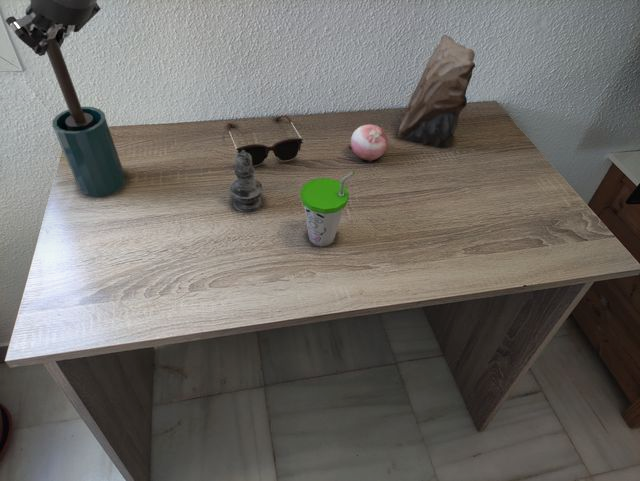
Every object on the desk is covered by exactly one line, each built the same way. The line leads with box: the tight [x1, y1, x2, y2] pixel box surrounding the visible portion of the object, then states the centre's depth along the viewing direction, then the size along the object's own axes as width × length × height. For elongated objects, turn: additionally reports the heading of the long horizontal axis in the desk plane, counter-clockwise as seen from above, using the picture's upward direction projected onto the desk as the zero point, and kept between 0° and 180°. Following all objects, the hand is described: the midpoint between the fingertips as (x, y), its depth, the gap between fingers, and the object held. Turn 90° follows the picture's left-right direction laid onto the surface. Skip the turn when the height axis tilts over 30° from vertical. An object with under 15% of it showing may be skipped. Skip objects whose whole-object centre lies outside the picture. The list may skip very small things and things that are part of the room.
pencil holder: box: [51, 106, 126, 198], centre depth 85 cm, size 8×8×14 cm
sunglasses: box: [226, 114, 304, 167], centre depth 100 cm, size 14×16×5 cm
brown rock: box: [397, 34, 476, 148], centre depth 100 cm, size 13×13×20 cm
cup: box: [299, 170, 355, 248], centre depth 77 cm, size 8×8×15 cm
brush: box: [46, 36, 95, 131], centre depth 77 cm, size 4×4×22 cm
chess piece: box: [229, 150, 264, 213], centre depth 84 cm, size 6×6×12 cm
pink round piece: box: [347, 124, 388, 163], centre depth 98 cm, size 8×8×7 cm
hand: (45, 47), depth 72 cm, fingers closed on brush, 2 cm apart
